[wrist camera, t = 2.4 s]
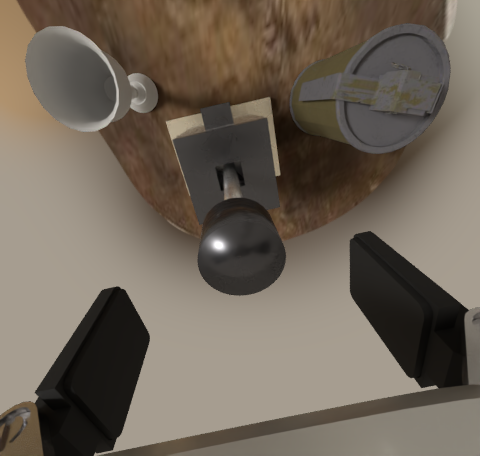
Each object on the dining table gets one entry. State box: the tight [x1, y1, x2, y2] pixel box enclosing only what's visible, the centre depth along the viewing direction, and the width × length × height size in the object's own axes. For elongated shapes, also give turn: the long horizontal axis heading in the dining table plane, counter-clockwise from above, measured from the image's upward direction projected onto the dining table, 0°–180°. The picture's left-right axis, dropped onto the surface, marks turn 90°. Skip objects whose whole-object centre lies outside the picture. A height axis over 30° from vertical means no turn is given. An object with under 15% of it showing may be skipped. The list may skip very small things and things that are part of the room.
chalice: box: [25, 26, 158, 132], centre depth 27 cm, size 7×7×18 cm
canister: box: [290, 23, 450, 154], centre depth 29 cm, size 11×10×20 cm
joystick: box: [166, 97, 280, 225], centre depth 32 cm, size 16×12×17 cm
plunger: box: [198, 161, 286, 295], centre depth 21 cm, size 6×6×22 cm
